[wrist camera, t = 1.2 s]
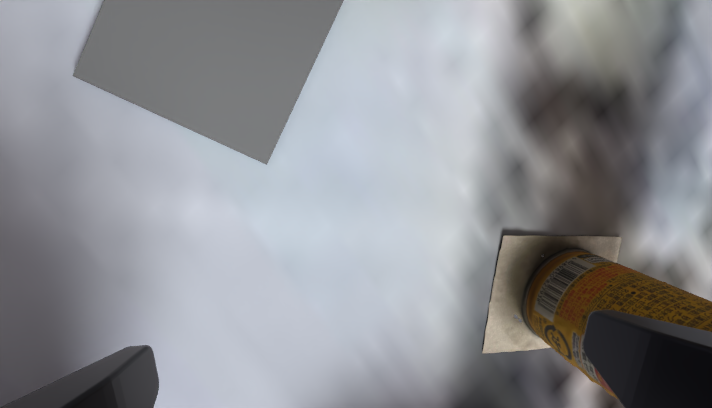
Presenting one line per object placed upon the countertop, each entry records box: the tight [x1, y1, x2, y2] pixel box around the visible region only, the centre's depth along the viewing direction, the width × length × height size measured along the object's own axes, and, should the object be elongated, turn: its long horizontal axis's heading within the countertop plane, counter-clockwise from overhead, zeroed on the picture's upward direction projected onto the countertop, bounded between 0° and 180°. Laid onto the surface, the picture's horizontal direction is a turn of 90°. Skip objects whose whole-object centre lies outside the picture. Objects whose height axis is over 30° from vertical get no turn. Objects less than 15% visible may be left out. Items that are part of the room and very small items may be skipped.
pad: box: [73, 0, 344, 164], centre depth 17 cm, size 8×8×1 cm
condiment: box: [483, 235, 712, 400], centre depth 19 cm, size 7×8×12 cm
